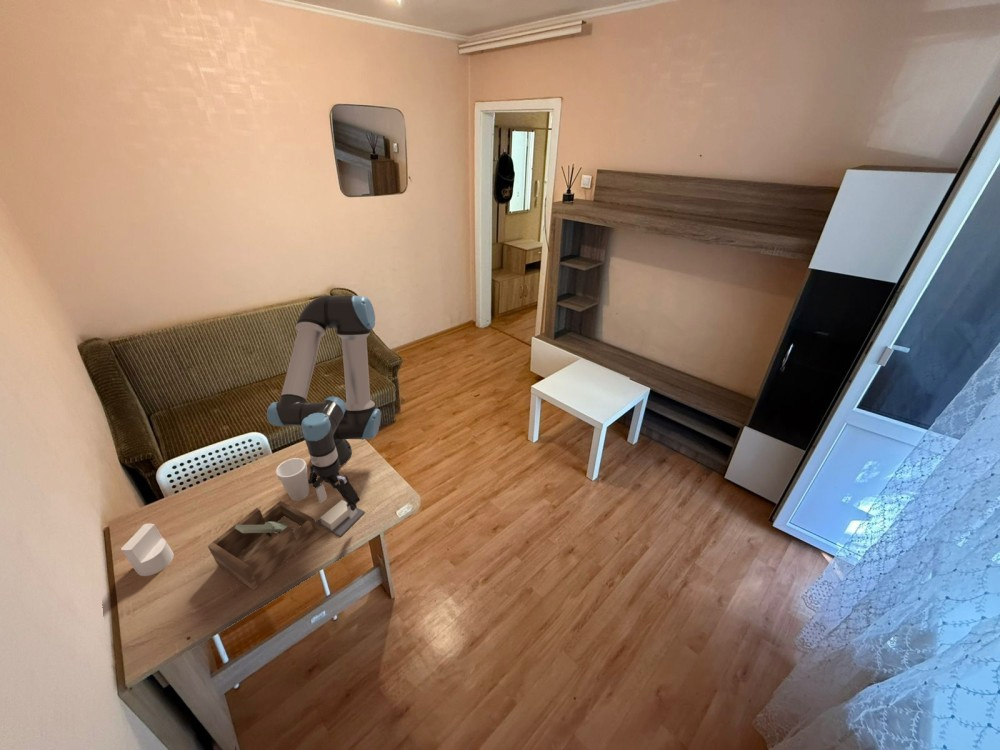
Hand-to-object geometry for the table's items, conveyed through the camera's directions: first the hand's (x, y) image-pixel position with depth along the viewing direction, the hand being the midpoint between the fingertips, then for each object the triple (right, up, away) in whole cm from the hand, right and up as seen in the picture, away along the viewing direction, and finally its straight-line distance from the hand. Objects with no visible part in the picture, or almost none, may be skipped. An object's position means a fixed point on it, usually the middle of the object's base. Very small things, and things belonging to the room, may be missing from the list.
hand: (338, 507), depth 135 cm
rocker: (-18, -3, -11) cm, 21 cm away
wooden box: (-18, -10, -7) cm, 22 cm away
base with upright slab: (-50, -13, -12) cm, 53 cm away
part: (-1, -4, +2) cm, 5 cm away
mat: (0, -4, +3) cm, 5 cm away
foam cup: (-18, +1, +12) cm, 22 cm away
